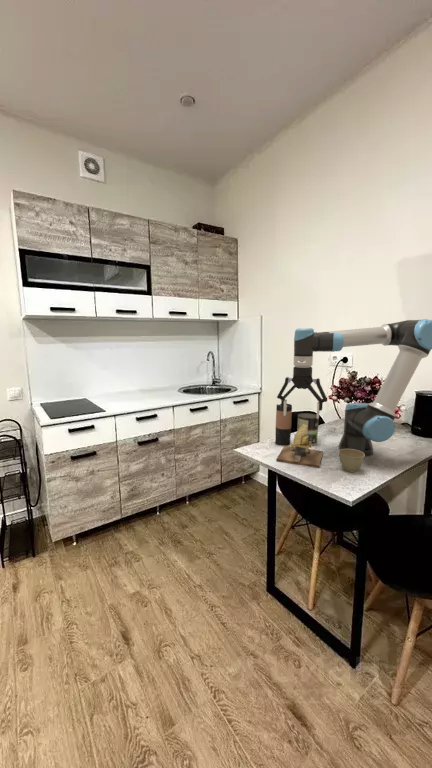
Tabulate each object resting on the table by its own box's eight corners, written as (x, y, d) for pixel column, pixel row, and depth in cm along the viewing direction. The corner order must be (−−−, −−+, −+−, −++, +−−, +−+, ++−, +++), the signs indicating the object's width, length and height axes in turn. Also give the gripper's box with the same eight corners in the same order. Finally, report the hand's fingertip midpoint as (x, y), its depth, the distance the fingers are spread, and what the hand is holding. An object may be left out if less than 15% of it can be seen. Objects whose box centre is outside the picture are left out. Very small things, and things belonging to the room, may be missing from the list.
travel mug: (290, 446, 163) (292, 407, 160) (274, 445, 165) (276, 406, 161) (290, 441, 170) (292, 403, 167) (275, 440, 172) (276, 402, 169)
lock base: (322, 453, 155) (323, 441, 154) (319, 468, 138) (319, 454, 137) (284, 447, 161) (284, 436, 160) (276, 461, 145) (276, 448, 144)
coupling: (296, 440, 159) (297, 423, 157) (313, 443, 155) (314, 425, 154) (287, 453, 143) (288, 434, 141) (306, 456, 139) (307, 436, 138)
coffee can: (317, 440, 173) (319, 414, 171) (316, 446, 163) (318, 419, 161) (297, 438, 176) (298, 412, 174) (295, 444, 167) (296, 417, 164)
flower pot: (338, 463, 144) (339, 447, 143) (363, 466, 140) (364, 450, 139) (336, 472, 135) (338, 455, 133) (363, 476, 131) (365, 459, 130)
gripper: (270, 366, 138) (269, 415, 141) (334, 368, 128) (331, 421, 132) (274, 364, 145) (273, 411, 148) (335, 366, 135) (332, 416, 139)
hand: (301, 416), depth 140 cm, fingers open, 13 cm apart
